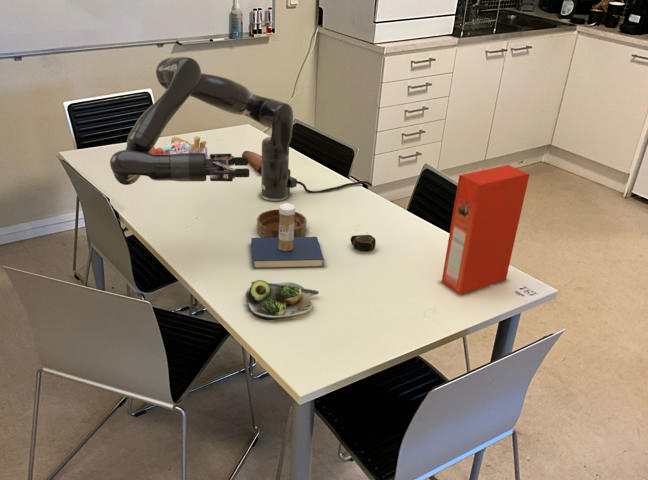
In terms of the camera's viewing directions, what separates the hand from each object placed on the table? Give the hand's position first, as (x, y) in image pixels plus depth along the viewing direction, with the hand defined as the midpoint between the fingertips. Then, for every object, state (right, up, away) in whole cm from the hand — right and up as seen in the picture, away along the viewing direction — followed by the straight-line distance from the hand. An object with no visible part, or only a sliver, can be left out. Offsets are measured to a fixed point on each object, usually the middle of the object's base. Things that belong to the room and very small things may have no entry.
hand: (248, 166), depth 181 cm
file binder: (+63, -31, +8) cm, 71 cm away
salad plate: (+8, -37, -6) cm, 39 cm away
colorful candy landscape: (-34, +16, +76) cm, 85 cm away
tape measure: (+33, -20, +22) cm, 45 cm away
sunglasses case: (-2, +15, +77) cm, 79 cm away
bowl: (+8, -14, +30) cm, 34 cm away
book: (+10, -23, +16) cm, 30 cm away
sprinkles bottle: (+10, -21, +15) cm, 28 cm away
